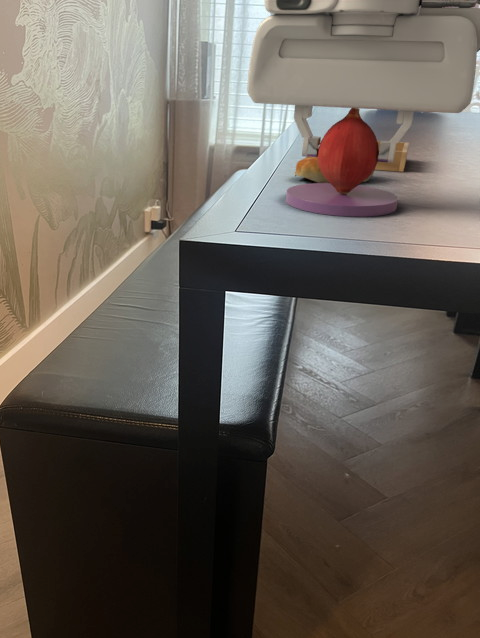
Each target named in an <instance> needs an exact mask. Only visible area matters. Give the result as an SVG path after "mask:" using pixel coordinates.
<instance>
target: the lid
mask: <svg viewBox="0 0 480 638" xmlns="http://www.w3.org/2000/svg"><path fill="white" fill-rule="evenodd" d="M285 202H286V204H287V205H289V206H290V207H293V208H295V209H297V210H301V211H304V212H308V213H312V214H320V215H326V216H334V217H349V218H350V217H351V218H353V217H354V218H357V217H358V218H361V217H362V218H363V217H364V218H365V217H366V218H367V217H368V218H369V217H381V216H384V215H388V214H389V215H390V214H392V213H394V212H396V210H397V207H398V202H399V197H398V195H396V194H395V193H393V192H390V191H388V190H385V189H381V188H378V187H372V186H366V185H360V184H359V185H358V186H357V187H355V188H354V189H352V190H351V191H350V192H349V193H346V194H341V193H339V192H337V190H336V189H335V188H334V187H333V186H332V185H331V184H330V183H317V182H313V183H303V184H302V183H301V184H297V185H293V186H289V187H288V188H287V189H286V193H285Z"/></svg>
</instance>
